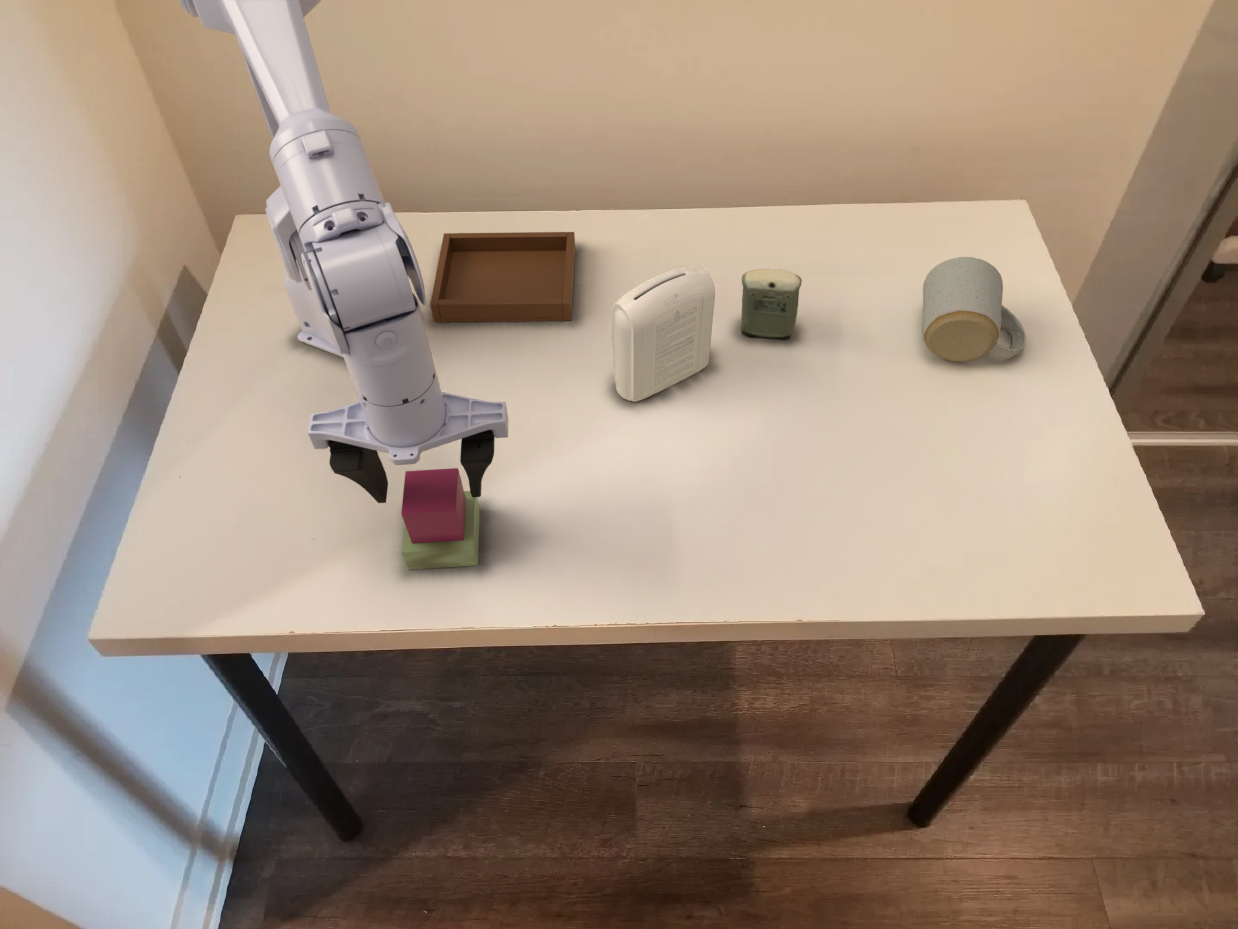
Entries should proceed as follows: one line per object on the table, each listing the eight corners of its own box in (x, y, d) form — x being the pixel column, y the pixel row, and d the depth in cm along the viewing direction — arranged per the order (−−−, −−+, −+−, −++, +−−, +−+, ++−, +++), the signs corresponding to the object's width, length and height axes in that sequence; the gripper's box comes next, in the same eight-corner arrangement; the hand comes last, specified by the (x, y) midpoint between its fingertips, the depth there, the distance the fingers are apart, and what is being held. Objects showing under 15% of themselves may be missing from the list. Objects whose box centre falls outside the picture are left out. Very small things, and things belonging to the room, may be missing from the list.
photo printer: (690, 341, 96) (695, 246, 86) (715, 366, 94) (724, 271, 84) (607, 383, 93) (602, 289, 83) (631, 410, 91) (629, 316, 81)
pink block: (411, 543, 78) (400, 514, 75) (415, 501, 81) (405, 470, 78) (463, 540, 79) (455, 510, 75) (466, 498, 81) (458, 467, 78)
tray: (434, 322, 99) (429, 304, 97) (447, 250, 106) (443, 232, 104) (571, 320, 98) (570, 303, 96) (575, 249, 106) (574, 231, 104)
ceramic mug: (914, 361, 94) (934, 305, 88) (914, 306, 99) (934, 249, 92) (1022, 377, 92) (1051, 320, 86) (1018, 320, 97) (1044, 263, 91)
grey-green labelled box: (751, 357, 95) (759, 298, 88) (727, 324, 98) (733, 265, 91) (800, 340, 96) (811, 280, 90) (774, 308, 99) (783, 248, 93)
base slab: (408, 570, 80) (401, 552, 78) (413, 512, 84) (406, 494, 82) (477, 565, 80) (473, 548, 78) (479, 508, 84) (475, 490, 82)
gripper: (282, 426, 63) (334, 536, 74) (497, 413, 63) (518, 525, 74) (297, 351, 67) (345, 466, 78) (498, 339, 68) (518, 455, 78)
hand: (430, 490), depth 76 cm, fingers open, 7 cm apart
